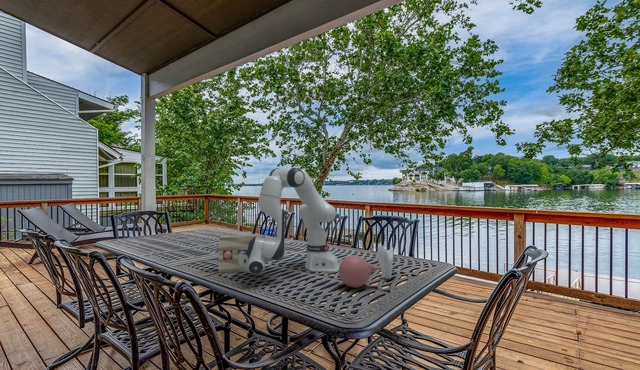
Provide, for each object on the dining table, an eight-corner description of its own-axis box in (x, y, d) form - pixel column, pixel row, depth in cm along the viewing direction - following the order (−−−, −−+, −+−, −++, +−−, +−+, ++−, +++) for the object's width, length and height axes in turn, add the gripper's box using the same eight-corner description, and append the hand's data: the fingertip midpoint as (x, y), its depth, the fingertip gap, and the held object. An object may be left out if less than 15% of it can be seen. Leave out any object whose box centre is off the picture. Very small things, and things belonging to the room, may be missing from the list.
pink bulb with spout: (380, 293, 141) (380, 260, 141) (337, 291, 144) (337, 258, 144) (378, 283, 156) (379, 253, 156) (339, 281, 159) (340, 251, 159)
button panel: (221, 266, 185) (221, 234, 185) (264, 264, 190) (264, 232, 190) (218, 272, 172) (218, 237, 172) (265, 270, 177) (265, 236, 177)
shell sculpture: (395, 276, 167) (395, 244, 167) (392, 281, 159) (392, 246, 159) (380, 274, 170) (380, 242, 170) (376, 279, 163) (376, 245, 163)
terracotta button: (224, 257, 176) (224, 250, 176) (232, 257, 177) (232, 249, 177) (223, 259, 172) (223, 251, 172) (231, 259, 173) (231, 251, 173)
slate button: (238, 257, 176) (238, 250, 176) (246, 257, 177) (246, 249, 177) (237, 259, 172) (238, 251, 172) (245, 259, 173) (246, 251, 173)
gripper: (275, 253, 164) (274, 248, 177) (236, 254, 160) (238, 249, 173) (275, 265, 164) (274, 258, 177) (236, 266, 160) (238, 260, 173)
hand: (256, 254), depth 175 cm, fingers closed, pressing on charcoal button
